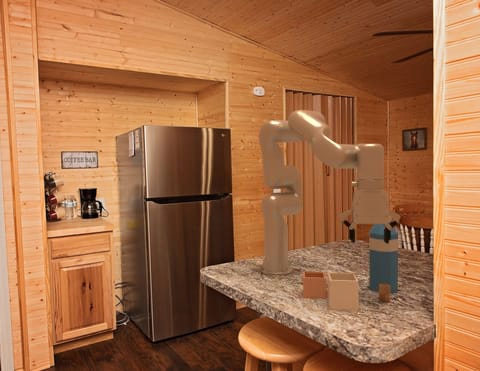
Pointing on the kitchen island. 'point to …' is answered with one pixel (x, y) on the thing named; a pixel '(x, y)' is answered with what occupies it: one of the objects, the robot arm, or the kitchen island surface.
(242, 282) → the kitchen island surface
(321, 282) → the orange open box
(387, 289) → the lid
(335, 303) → the cream open box
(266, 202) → the robot arm
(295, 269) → the kitchen island surface
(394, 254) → the water bottle
